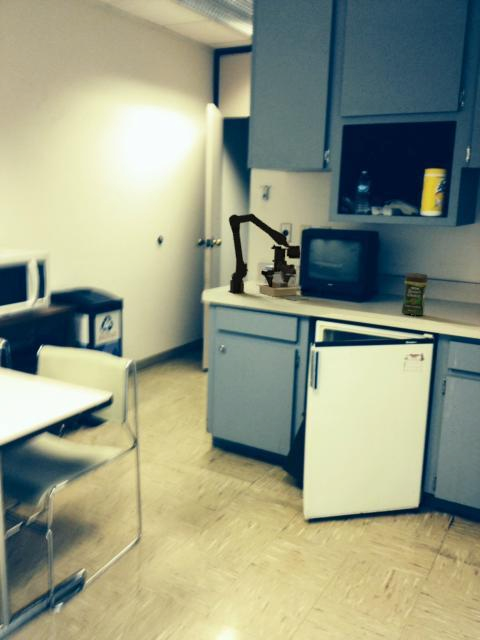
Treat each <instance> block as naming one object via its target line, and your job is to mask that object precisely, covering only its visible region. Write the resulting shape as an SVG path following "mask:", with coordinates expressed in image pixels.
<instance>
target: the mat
mask: <svg viewBox="0 0 480 640" xmlns="http://www.w3.org/2000/svg"><path fill="white" fill-rule="evenodd" d="M281 298H282V299H286V300H289V301H294V302H295V301H305V300H308V301H309V300H310V298H308V297H304V296H300V295H287V296H281Z"/></svg>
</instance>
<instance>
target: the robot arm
mask: <svg viewBox="0 0 480 640" xmlns="http://www.w3.org/2000/svg"><path fill="white" fill-rule="evenodd" d="M228 222H229V225H230V226H229V227H230V229H231V233H232V239H233V247H234V254H235V271H234V272H233V273H232V274H231V279H230V280H229V290H228V291H227V292H229V293H233V294H242V293H243V294H245V293H246V291H245V283H244V281H245V280H244V278H246V276H247V274H248V272H249V270H248V262H244V255H243V248H242V241H241V232H240V231H241V224H244V223H249V222H250V223H252V224H253V225H254V226H255V227H258V228H259V229H260V230H261V231H263V232H264V233H265V234H267V235H268V236H269V237H270V238H271V239H272V240H273V241H274V242H275V243H276V244H277V245H275V244H272V246H271V247H270V249H271V250H274V253H273V255H274V256H273V259H272V260H271V262H272V263H273V265H274V268H272V270H271V269H265V268H263V269H262V270H261V273H260V275H261V276H263V277H264V279H265V278H266V280H267V282H268V285H269V287H271V288H272V282H273V278H274V276H273V275H274V274H282V273H283V282H285V283H288V282H289V280H290V278H291V277H292V276H294V275H295V274H296V270H295V267H296V265H295V264H293V263H292V264H288V261H287V260H286V257H287V258H288V260H289V259H291V260H292V259H293V260H294V259H295V260H299V259H301V245H290V244H289V243H288V239H287V236H286V235H285V234H284V233H282V232H280V231H279V230H276V229H273V228H272V227H271V226H269V225H268V224H266V223H265V222H264V221H263V220H261V219H260V218H259V217H258V216H256V215H255V214H254V213H248V214H241V215H240V214H239V215H238V214H236V213H234V214H231V215H230V216H229V217H228ZM282 246H283V247H282Z"/></svg>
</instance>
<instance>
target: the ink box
mask: <svg viewBox="0 0 480 640" xmlns="http://www.w3.org/2000/svg"><path fill="white" fill-rule="evenodd" d="M295 270H296V274H295V275H294V276H292V277H291V278H290V280H289V282H288V285H291V286H295V287H297V277H298V267H297V266H295ZM280 282H283V273H282V274H280Z"/></svg>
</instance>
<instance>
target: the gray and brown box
mask: <svg viewBox="0 0 480 640" xmlns="http://www.w3.org/2000/svg"><path fill="white" fill-rule="evenodd" d="M286 287H288V283H285V282H280V281H273V282H272V288H286Z"/></svg>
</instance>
